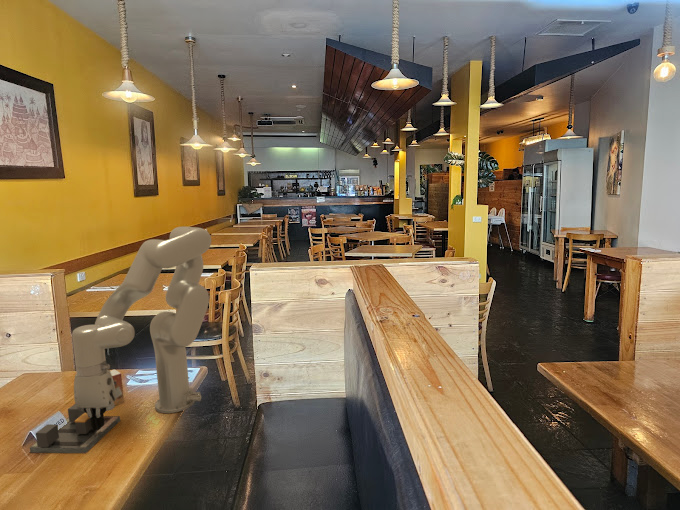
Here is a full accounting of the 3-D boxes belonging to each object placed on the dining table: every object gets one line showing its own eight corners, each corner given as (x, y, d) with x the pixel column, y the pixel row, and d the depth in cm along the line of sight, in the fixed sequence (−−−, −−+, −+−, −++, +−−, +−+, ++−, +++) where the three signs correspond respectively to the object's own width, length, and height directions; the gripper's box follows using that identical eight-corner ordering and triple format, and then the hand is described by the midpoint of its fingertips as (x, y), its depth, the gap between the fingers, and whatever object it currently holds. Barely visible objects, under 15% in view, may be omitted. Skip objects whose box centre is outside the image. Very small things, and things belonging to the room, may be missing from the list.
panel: (120, 420, 137) (119, 415, 136) (85, 453, 120) (85, 447, 120) (71, 420, 138) (70, 415, 137) (30, 452, 121) (29, 447, 121)
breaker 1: (59, 437, 124) (57, 424, 124) (47, 446, 120) (46, 433, 119) (49, 437, 125) (47, 424, 124) (37, 446, 120) (35, 433, 120)
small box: (99, 411, 143) (95, 381, 141) (93, 406, 147) (89, 376, 145) (124, 402, 149) (121, 373, 147) (118, 397, 152) (115, 368, 151)
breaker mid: (95, 425, 130) (94, 412, 130) (86, 433, 126) (84, 420, 125) (85, 425, 130) (84, 412, 130) (76, 433, 126) (74, 420, 126)
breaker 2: (87, 414, 137) (86, 402, 137) (78, 421, 133) (77, 409, 132) (78, 414, 137) (77, 402, 137) (69, 421, 133) (67, 409, 132)
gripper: (123, 363, 128) (129, 421, 131) (74, 363, 129) (81, 421, 132) (109, 373, 121) (116, 435, 124) (57, 374, 122) (65, 435, 124)
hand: (98, 427), depth 128 cm, fingers closed
